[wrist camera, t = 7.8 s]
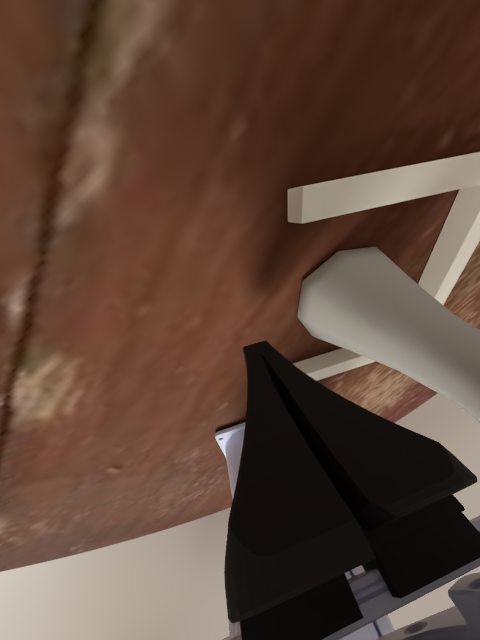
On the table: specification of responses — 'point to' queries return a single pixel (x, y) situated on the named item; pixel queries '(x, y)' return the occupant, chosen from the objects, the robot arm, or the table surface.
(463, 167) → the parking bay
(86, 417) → the table surface
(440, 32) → the table surface
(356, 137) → the table surface
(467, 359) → the flask
